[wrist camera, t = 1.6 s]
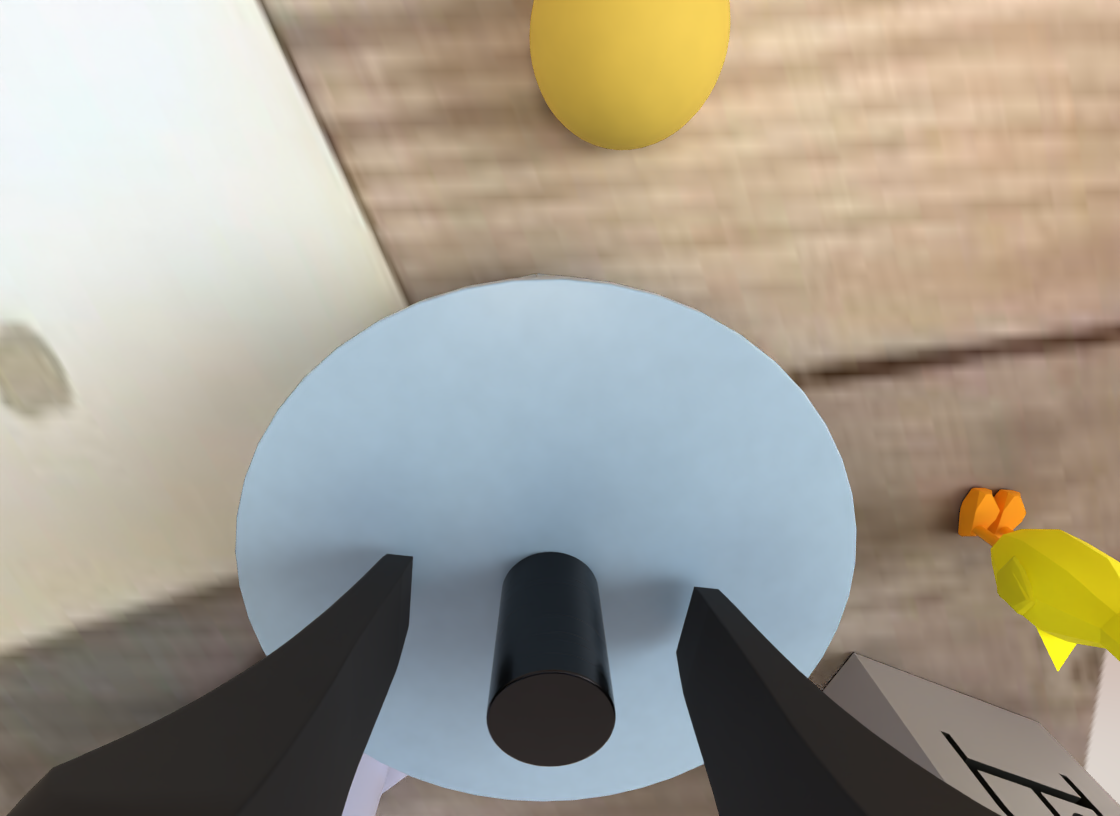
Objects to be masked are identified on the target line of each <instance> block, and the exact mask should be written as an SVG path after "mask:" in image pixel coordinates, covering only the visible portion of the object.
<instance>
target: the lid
mask: <svg viewBox="0 0 1120 816" xmlns="http://www.w3.org/2000/svg"><path fill="white" fill-rule="evenodd" d="M235 552H236V560H237V569H238V577H239V585H240V589H241V593H242V596H243V600H244V604H245V607H246V611H247V614H248V618H249V620H250V623H251V625H252V627H253V629H254V632H255V634H256V636H257V638H258V640H259V643H260V645H261V647H262V649H263V651H264V653H265V654H266V656H268V655H269V654H271V653H272V652H274V651H275V650H276V649H278V648H279V647H281V646H282V645H283V644H285V643H286V642H287V641H289V640H290V639H291V638H293V637H294V636H295V635H296V634H298V633H299V632H300V631H301V630H303V629H304V628H305V627H306V626H307V625H309V624H310V623H311V622H312V621H314V620H315V619H316V618H317V617H319V616H320V615H321V614H322V613H323V612H325V611H326V610H327V609H328V608H329V607H330V606H331V605H332V604H334V603H335V602H336V601H337V600H338V599H339V598H340V597H341V596H342V595H344V594H345V593H346V592H347V591H348V590H349V589H350V588H351V587H352V586H353V585H354V584H355V583H357V582H358V581H359V580H360V579H361V578H362V577H363V576H364V575H365V574H366V573H367V572H368V571H369V570H370V569H371V568H372V567H373V566H374V565H375V564H376V563H377V562H378V561H379V560H380V559H381V558H382V557H383V556H385V555H386V554H395V555H404V556H413V568H412V584H411V601H410V617H409V628H408V631H407V635H406V639H405V643H404V646H403V650H402V653H401V657H400V660H399V664H398V667H397V670H396V673H395V675H394V678H393V680H392V683H391V685H390V688H389V690H388V693H387V696H386V698H385V701H384V703H383V706H382V708H381V710H380V713H379V715H378V718H377V720H376V723H375V725H374V728H373V730H372V733H371V735H370V738H369V740H368V743H367V745H366V748H365V750H364V753H365V754H367V755H369V756H370V757H372V758H374V759H375V760H377V761H379V762H380V763H383V764H385V765H387V766H389V767H391V768H394V769H396V770H398V771H400V772H402V773H404V774H407V775H409V776H411V777H414V778H417V779H420V780H423V781H426V782H429V783H432V784H434V785H437V786H440V787H443V788H448V789H452V790H456V791H460V792H465V793H469V794H473V795H478V796H486V797H493V798H500V799H507V800H524V801H562V800H579V799H586V798H594V797H601V796H609V795H613V794H617V793H622V792H626V791H631V790H635V789H639V788H643V787H646V786H649V785H652V784H655V783H658V782H661V781H664V780H667V779H670V778H673V777H675V776H678V775H680V774H682V773H684V772H687V771H689V770H691V769H694V768H696V767H698V766H700V765H703V764H704V761H703V758H702V755H701V752H700V748H699V745H698V742H697V739H696V735H695V732H694V729H693V726H692V722H691V719H690V716H689V712H688V709H687V706H686V702H685V699H684V695H683V690H682V685H681V680H680V674H679V668H678V662H677V656H676V650H677V647H678V643H679V639H680V636H681V632H682V628H683V625H684V621H685V618H686V614H687V610H688V607H689V603H690V600H691V596H692V592H693V589H694V587H704V588H713V589H719V590H720V591H721V592H722V593H723V594H724V595H725V596H726V597H727V598H728V599H729V600H730V601H731V602H732V603H733V604H734V605H735V606H736V607H737V608H738V609H739V610H740V611H741V612H742V613H743V614H744V616H745V617H746V618H747V619H748V620H749V621H750V622H751V623H752V624H753V625H754V626H755V627H756V628H757V629H758V630H759V631H760V632H761V633H762V634H763V635H764V636H765V637H766V638H767V639H768V640H769V641H770V642H771V643H772V644H773V645H774V646H775V647H776V648H777V649H778V650H779V651H780V652H781V653H782V654H783V655H784V656H785V657H786V658H787V659H788V660H789V661H790V662H791V663H792V664H793V665H794V666H795V667H796V668H797V669H798V670H799V671H800V672H801V673H803V674H804V675H805V676H806V677H807V678H808V677H809V676H810V674H811V673H812V671H813V670H814V669H815V667H816V666H817V664H818V663H819V661H820V660H821V659H822V657H823V655H824V653H825V651H826V649H827V648H828V646H829V644H830V642H831V640H832V638H833V636H834V634H835V632H836V630H837V628H838V626H839V623H840V620H841V617H842V614H843V611H844V609H845V606H846V603H847V600H848V597H849V593H850V587H851V582H852V577H853V572H854V567H855V554H856V521H855V513H854V505H853V496H852V492H851V488H850V485H849V481H848V478H847V474H846V471H845V467H844V464H843V460H842V458H841V455H840V453H839V451H838V449H837V447H836V445H835V443H834V441H833V438H832V436H831V434H830V432H829V430H828V428H827V426H826V424H825V422H824V421H823V419H822V418H821V417H820V415H819V414H818V412H817V411H816V409H815V408H814V406H813V405H812V403H811V402H810V400H809V399H808V397H807V396H806V395H805V393H804V392H803V391H802V390H801V389H800V387H799V386H798V385H797V384H796V383H795V382H794V381H793V380H792V379H791V378H790V377H789V376H788V375H787V374H786V373H785V371H784V370H783V369H782V368H781V367H780V366H779V365H778V364H777V363H776V362H775V361H774V360H772V359H771V358H770V357H769V356H767V355H766V354H765V353H764V352H762V351H761V350H760V349H758V348H757V347H756V346H755V345H753V344H752V343H751V342H750V341H748V340H747V339H746V338H744V337H743V336H742V335H740V334H739V333H737V332H735V331H734V330H732V329H730V328H728V327H727V326H725V325H723V324H721V323H720V322H718V321H716V320H714V319H713V318H711V317H709V316H707V315H706V314H704V313H702V312H700V311H699V310H697V309H694V308H692V307H689V306H687V305H684V304H682V303H679V302H677V301H674V300H672V299H669V298H667V297H664V296H662V295H659V294H657V293H654V292H650V291H646V290H642V289H637V288H633V287H629V286H625V285H621V284H617V283H613V282H608V281H599V280H589V279H580V278H570V277H533V278H512V279H506V280H500V281H493V282H487V283H481V284H475V285H469V286H465V287H462V288H459V289H455V290H452V291H449V292H446V293H443V294H439V295H436V296H433V297H430V298H426V299H423V300H421V301H419V302H417V303H414V304H412V305H410V306H408V307H406V308H404V309H402V310H400V311H397V312H395V313H393V314H391V315H389V316H387V317H385V318H382V319H381V320H379V321H377V322H376V323H374V324H373V325H371V326H369V327H368V328H366V329H365V330H363V331H362V332H360V333H359V334H357V335H356V336H354V337H353V338H351V339H350V340H348V341H347V342H345V343H344V344H342V345H341V346H339V347H338V348H336V349H335V350H334V351H333V352H332V353H331V354H330V355H329V356H327V357H326V358H325V359H324V360H323V361H322V362H321V363H320V364H319V365H317V366H316V367H315V368H314V369H313V370H312V371H311V372H310V373H308V374H307V375H306V376H305V377H304V378H303V380H302V381H301V382H300V383H299V385H298V386H297V387H296V388H295V389H294V391H293V392H292V393H291V394H290V395H289V397H288V398H287V399H286V400H285V402H284V403H283V404H282V405H281V406H280V408H279V409H278V411H277V412H276V414H275V416H274V417H273V419H272V421H271V423H270V424H269V426H268V428H267V429H266V431H265V433H264V434H263V436H262V438H261V440H260V441H259V443H258V445H257V448H256V451H255V453H254V456H253V458H252V461H251V464H250V466H249V469H248V471H247V474H246V477H245V479H244V484H243V489H242V494H241V499H240V503H239V508H238V513H237V526H236V550H235Z"/></svg>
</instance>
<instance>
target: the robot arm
mask: <svg viewBox="0 0 1120 816" xmlns="http://www.w3.org/2000/svg"><path fill="white" fill-rule="evenodd" d="M412 568H413V556H404V555H395V554H386V555H385V556H383V557H382V558H381V559H380V560H379V561H378V562H377V563H376V564H375V565H374V566H373V567H372V568H371V569H370V570H369V571H368V572H367V573H366V574H365V575H364V576H363V577H362V578H361V579H360V580H359V581H358V582H357V583H355V584H354V585H353V586H352V587H351V588H350V589H349V590H348V591H347V592H346V593H345V594H344V595H342V596H341V597H340V598H339V599H338V600H337V601H336V602H335V603H334V604H332V605H331V606H330V607H329V608H328V609H327V610H326V611H325V612H323V613H322V614H321V615H320V616H319V617H317V618H316V619H315V620H314V621H312V622H311V623H310V624H309V625H307V626H306V627H305V628H304V629H303V630H301V631H300V632H299V633H298V634H296V635H295V636H294V637H293V638H291V639H290V640H289V641H287V642H286V643H285V644H283V645H282V646H281V647H279V648H278V649H276V650H275V651H274V652H272V653H271V654H269V655H268V656H267V657H265V658H264V659H262V660H261V661H259V662H258V663H256V664H255V665H253V666H252V667H250V668H249V669H247V670H246V671H244V672H243V673H241V674H239V675H238V676H236V677H235V678H233V679H231V680H230V681H228V682H226V683H225V684H223V685H221V686H220V687H218V688H216V689H215V690H213V691H211V692H210V693H208V694H206V695H204V696H203V697H201V698H199V699H197V700H196V701H194V702H192V703H190V704H188V705H186V706H185V707H183V708H181V709H179V710H177V711H175V712H173V713H171V714H169V715H167V716H165V717H163V718H162V719H160V720H158V721H156V722H154V723H152V724H150V725H148V726H146V727H144V728H142V729H139V730H137V731H135V732H133V733H131V734H129V735H127V736H125V737H122V738H120V739H118V740H116V741H113V742H111V743H109V744H107V745H104V746H102V747H100V748H98V749H95V750H93V751H91V752H88V753H86V754H84V755H82V756H79V757H77V758H75V759H73V760H70V761H68V762H66V763H63V764H61V765H58V766H56V767H53V768H52V769H51V770H50V771H49V772H48V773H47V774H46V775H45V776H44V777H43V778H42V779H41V780H40V781H39V782H38V783H37V784H36V785H35V786H34V787H33V788H32V789H31V790H30V791H29V792H28V793H27V794H26V795H25V796H24V797H23V798H22V799H21V800H20V802H19V803H18V804H17V805H16V806H15V807H14V808H13V809H12V810H11V812H10V813H9V814H8V815H7V816H375V814H376V811H377V807H378V804H379V801H380V797H381V794H383V793H384V792H385V791H387V790H388V789H389V788H391V787H392V786H394V785H395V784H396V783H398V782H399V781H400V780H402V779H403V778H404V777H406V776H407V774H404V773H402V772H400V771H398V770H396V769H394V768H391V767H389V766H387V765H385V764H383V763H380V762H379V761H377V760H375V759H374V758H372V757H370V756H369V755H367V754H365V753H364V750H365V748H366V745H367V743H368V740H369V738H370V735H371V733H372V730H373V728H374V725H375V723H376V720H377V718H378V715H379V713H380V710H381V708H382V706H383V703H384V701H385V698H386V696H387V693H388V690H389V688H390V685H391V683H392V680H393V678H394V675H395V673H396V670H397V667H398V664H399V660H400V657H401V653H402V650H403V646H404V643H405V639H406V635H407V631H408V628H409V617H410V601H411V584H412ZM676 656H677V662H678V668H679V674H680V680H681V685H682V690H683V695H684V699H685V702H686V706H687V709H688V712H689V716H690V719H691V722H692V726H693V729H694V732H695V735H696V739H697V742H698V745H699V748H700V752H701V755H702V758H703V761H704V765H705V768H706V771H707V774H708V777H709V781H710V784H711V787H712V790H713V794H714V797H715V801H716V805H717V809H718V812H719V816H1001V815H999V814H997V813H996V812H994V811H992V810H990V809H988V808H987V807H985V806H983V805H981V804H980V803H978V802H976V801H975V800H973V799H971V798H970V797H968V796H967V795H965V794H963V793H962V792H960V791H959V790H957V789H955V788H954V787H952V786H951V785H949V784H947V783H946V782H944V781H943V780H941V779H939V778H938V777H936V776H935V775H933V774H932V773H930V772H929V771H927V770H926V769H924V768H923V767H921V766H920V765H918V764H917V763H915V762H914V761H912V760H911V759H909V758H908V757H906V756H905V755H904V754H902V753H901V752H899V751H898V750H897V749H895V748H894V747H892V746H891V745H890V744H888V743H887V742H885V741H884V740H883V739H881V738H880V737H878V736H877V735H876V734H874V733H873V732H872V731H870V730H869V729H868V728H866V727H865V726H864V725H863V724H861V723H860V722H859V721H858V720H856V719H855V718H854V717H853V716H851V715H850V714H849V713H848V712H846V711H845V710H844V709H843V708H841V707H840V706H839V705H838V704H837V703H835V702H834V701H833V700H832V699H831V698H829V697H828V696H827V695H826V694H825V693H824V692H822V691H821V690H820V689H819V688H818V687H817V686H816V685H815V684H813V683H812V682H811V681H810V680H809V679H808V678H807V677H806V676H805V675H804V674H803V673H801V672H800V671H799V670H798V669H797V668H796V667H795V666H794V665H793V664H792V663H791V662H790V661H789V660H788V659H787V658H786V657H785V656H784V655H783V654H782V653H781V652H780V651H779V650H778V649H777V648H776V647H775V646H774V645H773V644H772V643H771V642H770V641H769V640H768V639H767V638H766V637H765V636H764V635H763V634H762V633H761V632H760V631H759V630H758V629H757V628H756V627H755V626H754V625H753V624H752V623H751V622H750V621H749V620H748V619H747V618H746V617H745V616H744V614H743V613H742V612H741V611H740V610H739V609H738V608H737V607H736V606H735V605H734V604H733V603H732V602H731V601H730V600H729V599H728V598H727V597H726V596H725V595H724V594H723V593H722V592H721V591H720V590H719V589H713V588H704V587H694V589H693V592H692V596H691V600H690V603H689V607H688V610H687V614H686V618H685V621H684V625H683V628H682V632H681V636H680V639H679V643H678V647H677V650H676Z"/></svg>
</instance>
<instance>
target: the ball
mask: <svg viewBox="0 0 1120 816" xmlns="http://www.w3.org/2000/svg"><path fill="white" fill-rule="evenodd" d="M729 34H730V3H729V0H534V3H533V8H532V13H531V22H530V35H529V36H530V54H531V60H532V66H533V70H534V74H535V77H536V81H537V83H538V86H539V88H540V91H541V93H542V96H543V97H544V99H545V101H546V103H547V105H548V107H549V108H550V109H551V111H552V112H553V114H554V115H555V116H556V118H557V119H558V120H559V121H560V122H561V123H562V124H563V125H564V126H565V127H566V128H567V129H568V130H569V131H571V132H572V133H573V134H574V135H576V136H578V137H579V138H581V139H583V140H584V141H586V142H589V143H591V144H593V145H595V146H599V147H603V148H606V149H614V150H631V149H637V148H642V147H646V146H649V145H652V144H655V143H657V142H659V141H661V140H663V139H665V138H667V137H669V136H670V135H672V134H674V133H675V132H677V131H678V130H679V129H680V128H682V127H683V126H684V125H685V124H686V123H687V122H688V121H689V120H690V119H691V118H692V117H693V116H694V115H695V114H696V113H697V112H698V110H699V109H700V108H701V107H702V105H703V104H704V102H705V101H706V100H707V98H708V97H709V95H710V93H711V91H712V89H713V88H714V86H715V84H716V81H717V79H718V77H719V74H720V72H721V69H722V66H723V63H724V60H725V56H726V53H727V48H728V42H729Z"/></svg>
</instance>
